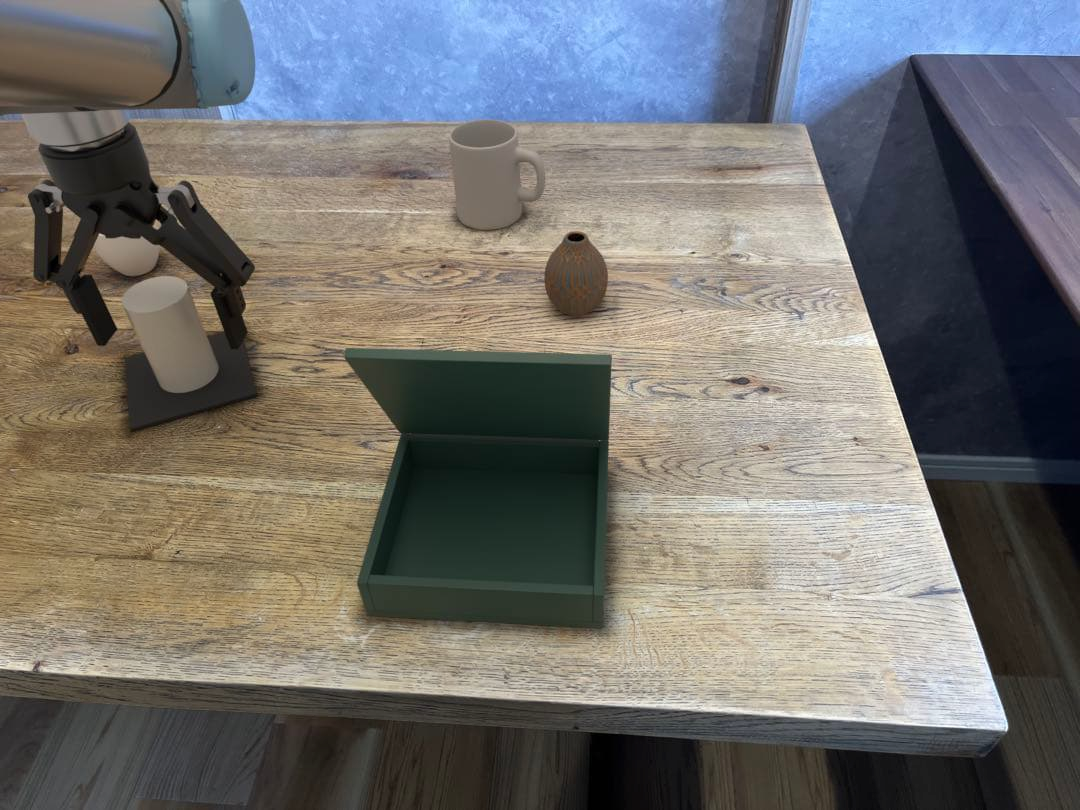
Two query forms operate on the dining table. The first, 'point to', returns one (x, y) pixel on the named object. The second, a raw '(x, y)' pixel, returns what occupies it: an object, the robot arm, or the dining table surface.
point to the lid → (489, 392)
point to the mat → (162, 406)
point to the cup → (128, 254)
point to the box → (491, 531)
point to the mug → (491, 174)
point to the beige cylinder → (171, 333)
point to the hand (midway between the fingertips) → (173, 339)
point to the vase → (576, 275)
